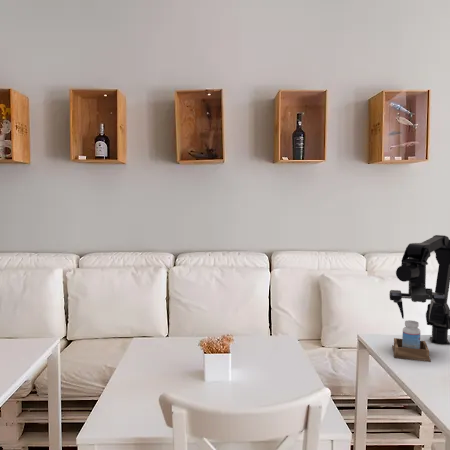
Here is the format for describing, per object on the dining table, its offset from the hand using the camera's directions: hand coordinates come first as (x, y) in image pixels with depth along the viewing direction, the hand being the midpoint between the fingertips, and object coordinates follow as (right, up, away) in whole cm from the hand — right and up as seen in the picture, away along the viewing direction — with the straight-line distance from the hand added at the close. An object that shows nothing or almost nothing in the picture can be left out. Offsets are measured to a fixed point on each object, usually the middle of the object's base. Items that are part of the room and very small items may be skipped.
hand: (416, 319), depth 162 cm
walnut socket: (-2, -13, -1) cm, 13 cm away
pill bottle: (-2, -12, 0) cm, 12 cm away
